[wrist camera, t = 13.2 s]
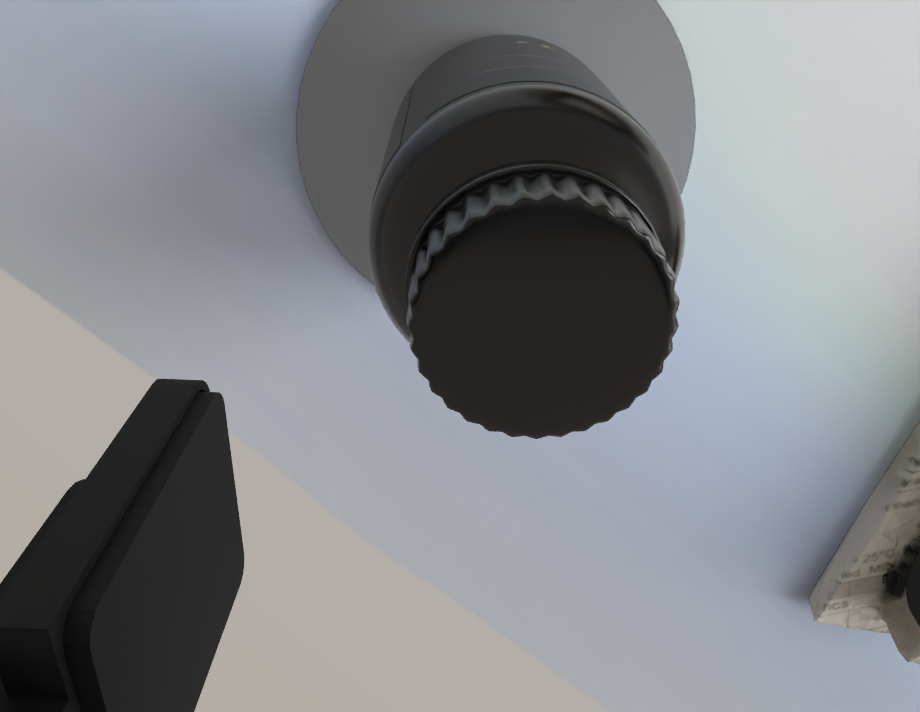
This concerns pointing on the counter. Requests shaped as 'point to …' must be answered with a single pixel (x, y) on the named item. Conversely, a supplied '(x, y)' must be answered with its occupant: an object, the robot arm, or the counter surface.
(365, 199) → the mat
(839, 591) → the packaged product
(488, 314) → the supplement bottle
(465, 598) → the counter surface
